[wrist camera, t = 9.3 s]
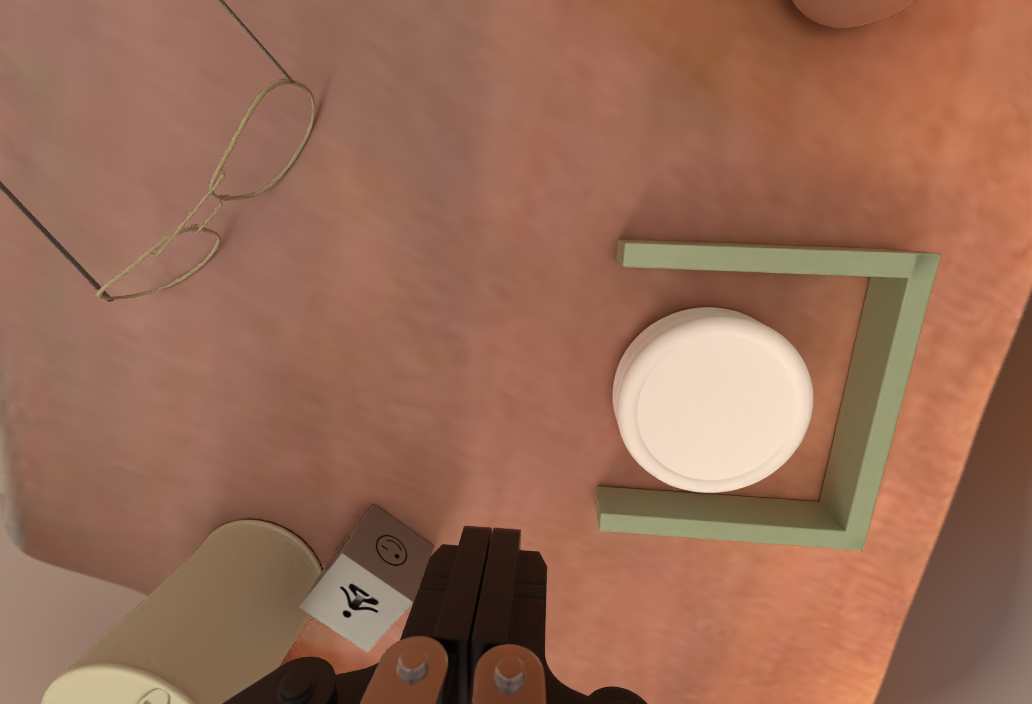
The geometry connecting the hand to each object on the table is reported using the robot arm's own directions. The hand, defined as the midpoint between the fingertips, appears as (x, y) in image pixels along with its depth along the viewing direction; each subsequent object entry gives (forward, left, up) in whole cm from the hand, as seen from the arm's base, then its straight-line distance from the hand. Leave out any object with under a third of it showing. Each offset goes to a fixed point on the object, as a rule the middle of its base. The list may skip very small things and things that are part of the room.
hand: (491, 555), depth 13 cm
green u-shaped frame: (+1, +12, -17) cm, 21 cm away
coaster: (+1, +10, -17) cm, 20 cm away
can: (+17, -18, -17) cm, 30 cm away
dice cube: (+14, -9, -17) cm, 24 cm away
